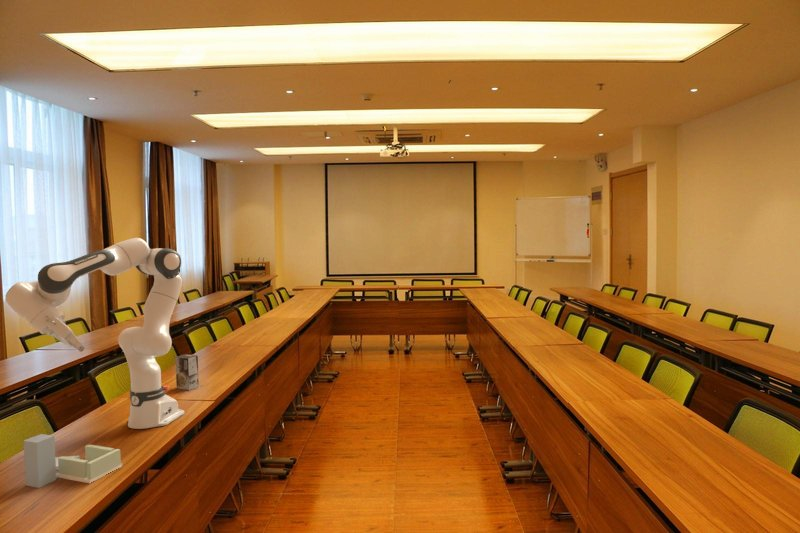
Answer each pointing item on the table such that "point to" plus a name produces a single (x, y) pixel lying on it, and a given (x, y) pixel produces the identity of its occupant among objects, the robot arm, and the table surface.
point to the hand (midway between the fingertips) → (81, 348)
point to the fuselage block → (40, 460)
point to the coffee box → (187, 371)
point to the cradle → (90, 464)
